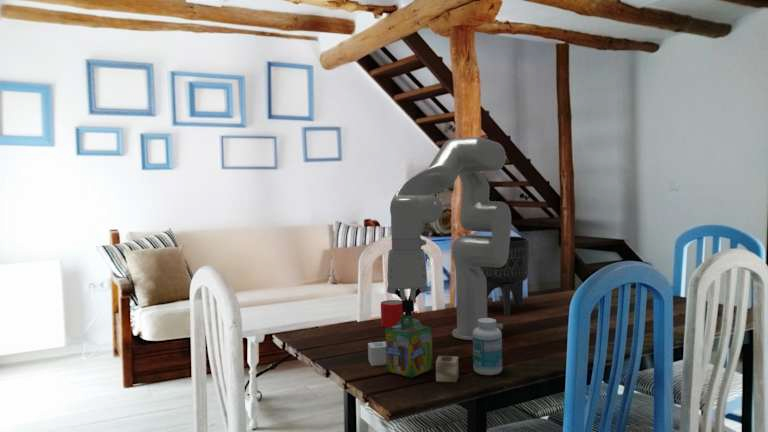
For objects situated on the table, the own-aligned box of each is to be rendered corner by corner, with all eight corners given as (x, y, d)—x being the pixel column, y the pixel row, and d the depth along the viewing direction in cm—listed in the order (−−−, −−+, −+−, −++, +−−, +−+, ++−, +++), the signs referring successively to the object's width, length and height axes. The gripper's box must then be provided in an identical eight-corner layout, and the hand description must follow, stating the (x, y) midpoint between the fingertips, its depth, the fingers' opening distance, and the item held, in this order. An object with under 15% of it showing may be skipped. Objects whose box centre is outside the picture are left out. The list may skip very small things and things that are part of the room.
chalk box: (411, 379, 151) (410, 321, 150) (385, 371, 157) (383, 316, 156) (434, 369, 157) (433, 314, 156) (407, 362, 164) (406, 309, 163)
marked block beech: (458, 375, 152) (458, 355, 152) (456, 382, 147) (455, 361, 147) (439, 374, 153) (438, 355, 153) (436, 381, 149) (435, 361, 148)
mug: (417, 322, 207) (416, 299, 207) (393, 329, 199) (392, 306, 198) (400, 318, 213) (399, 296, 212) (376, 325, 204) (375, 302, 204)
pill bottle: (470, 367, 158) (469, 317, 157) (497, 365, 159) (496, 315, 158) (477, 377, 151) (476, 324, 150) (505, 375, 151) (505, 322, 150)
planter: (536, 315, 211) (535, 241, 209) (480, 317, 211) (478, 243, 209) (523, 303, 231) (522, 235, 229) (472, 304, 231) (471, 237, 229)
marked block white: (385, 358, 168) (385, 340, 167) (389, 364, 163) (389, 345, 163) (368, 360, 167) (367, 342, 166) (371, 366, 162) (370, 347, 162)
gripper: (433, 242, 159) (435, 310, 160) (377, 244, 158) (379, 312, 160) (436, 245, 151) (438, 317, 152) (377, 247, 151) (379, 319, 152)
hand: (408, 314), depth 156 cm, fingers closed
